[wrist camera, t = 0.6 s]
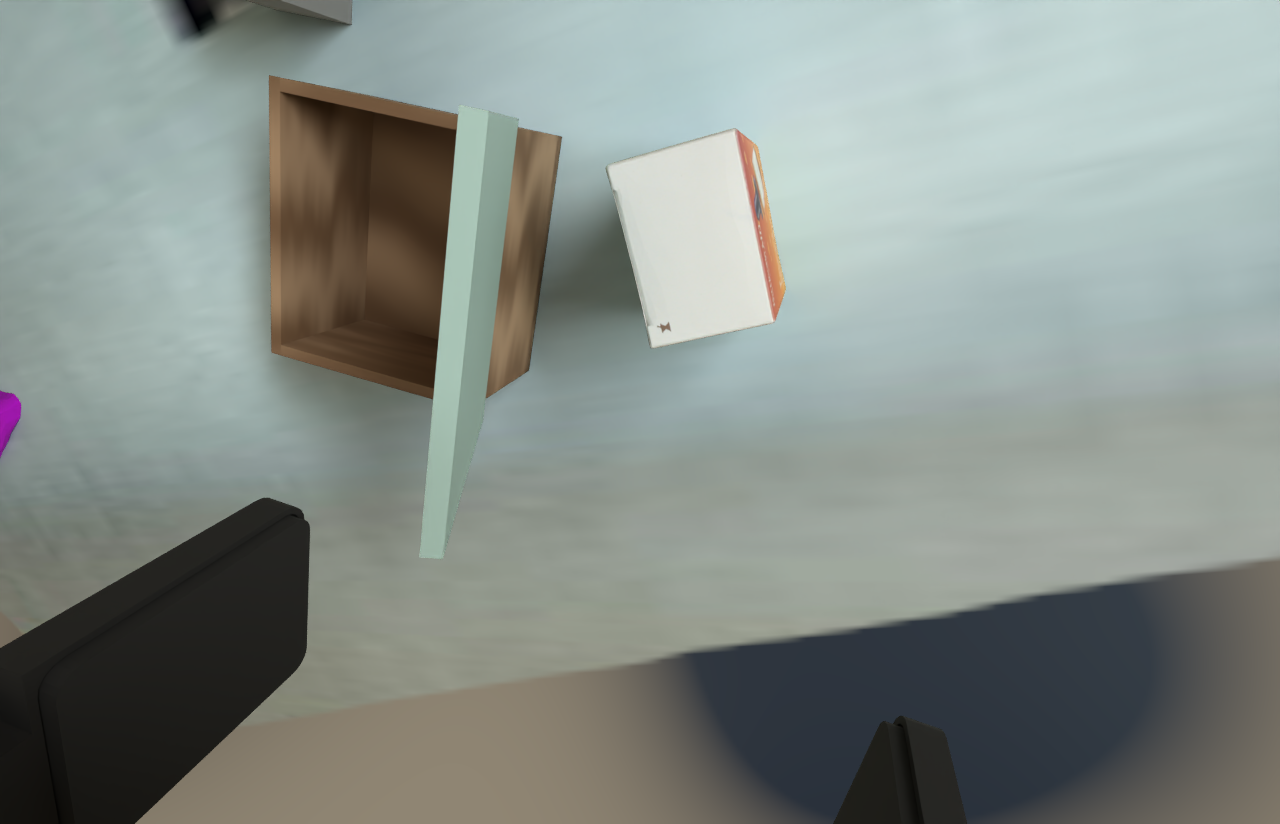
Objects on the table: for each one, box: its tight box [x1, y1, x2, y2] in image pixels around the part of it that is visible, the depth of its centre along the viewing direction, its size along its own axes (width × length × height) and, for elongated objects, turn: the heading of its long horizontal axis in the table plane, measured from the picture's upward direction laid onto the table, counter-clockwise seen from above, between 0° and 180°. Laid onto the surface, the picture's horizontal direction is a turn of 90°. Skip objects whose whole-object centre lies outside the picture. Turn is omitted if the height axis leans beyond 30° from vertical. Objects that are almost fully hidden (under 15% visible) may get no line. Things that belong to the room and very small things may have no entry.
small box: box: [606, 128, 786, 348], centre depth 32 cm, size 8×6×10 cm
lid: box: [420, 105, 519, 559], centre depth 26 cm, size 15×12×1 cm
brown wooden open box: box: [269, 75, 562, 399], centre depth 37 cm, size 14×12×8 cm
